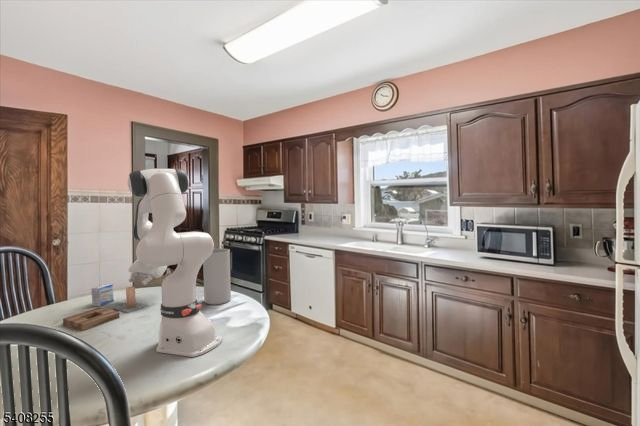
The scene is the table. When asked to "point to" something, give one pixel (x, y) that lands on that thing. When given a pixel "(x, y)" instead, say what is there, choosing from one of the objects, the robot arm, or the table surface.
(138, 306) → the mat
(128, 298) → the peg
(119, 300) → the table surface
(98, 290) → the medicine box
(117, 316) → the pocket block
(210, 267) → the cylinder vase
